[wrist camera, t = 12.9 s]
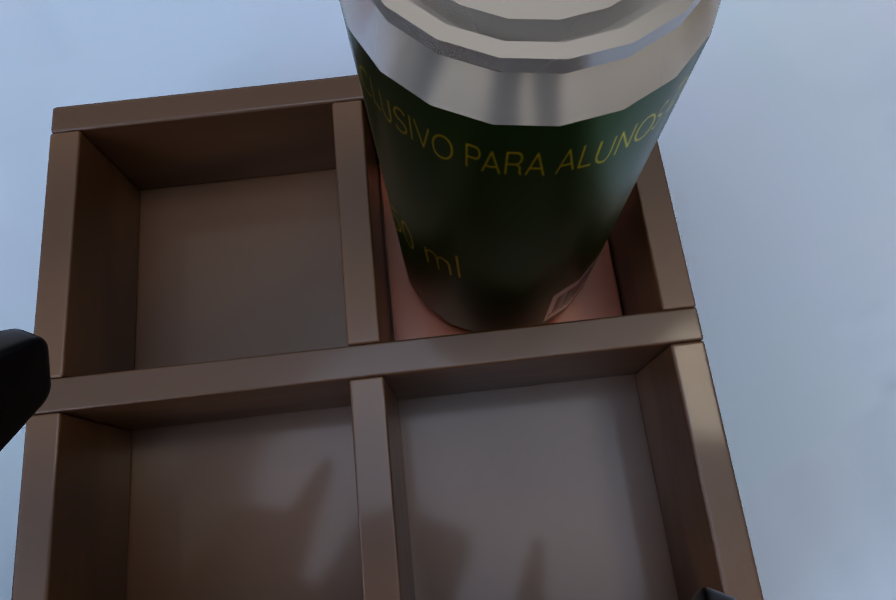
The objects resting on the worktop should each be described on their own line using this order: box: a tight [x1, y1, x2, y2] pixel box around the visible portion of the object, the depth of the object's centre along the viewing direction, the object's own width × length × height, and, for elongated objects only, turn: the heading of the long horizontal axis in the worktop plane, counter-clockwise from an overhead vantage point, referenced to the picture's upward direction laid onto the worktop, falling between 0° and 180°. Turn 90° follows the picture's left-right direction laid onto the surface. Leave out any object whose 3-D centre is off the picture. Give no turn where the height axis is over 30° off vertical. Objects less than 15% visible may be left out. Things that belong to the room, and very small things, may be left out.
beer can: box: [340, 0, 721, 332], centre depth 14 cm, size 5×5×12 cm
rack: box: [11, 75, 764, 600], centre depth 17 cm, size 16×16×4 cm
